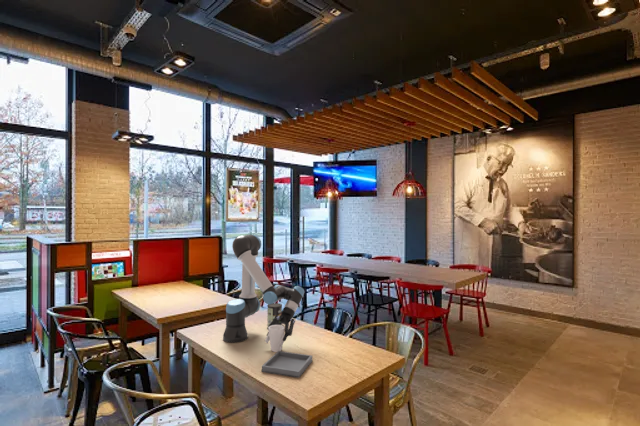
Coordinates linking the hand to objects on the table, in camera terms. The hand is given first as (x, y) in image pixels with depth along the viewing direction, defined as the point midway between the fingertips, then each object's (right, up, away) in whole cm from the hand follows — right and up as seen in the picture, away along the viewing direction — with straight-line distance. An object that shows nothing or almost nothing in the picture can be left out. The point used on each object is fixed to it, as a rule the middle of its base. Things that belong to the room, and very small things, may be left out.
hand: (272, 343), depth 200 cm
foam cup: (+2, -5, +3) cm, 6 cm away
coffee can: (-5, -4, +47) cm, 47 cm away
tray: (+10, -5, -19) cm, 22 cm away
